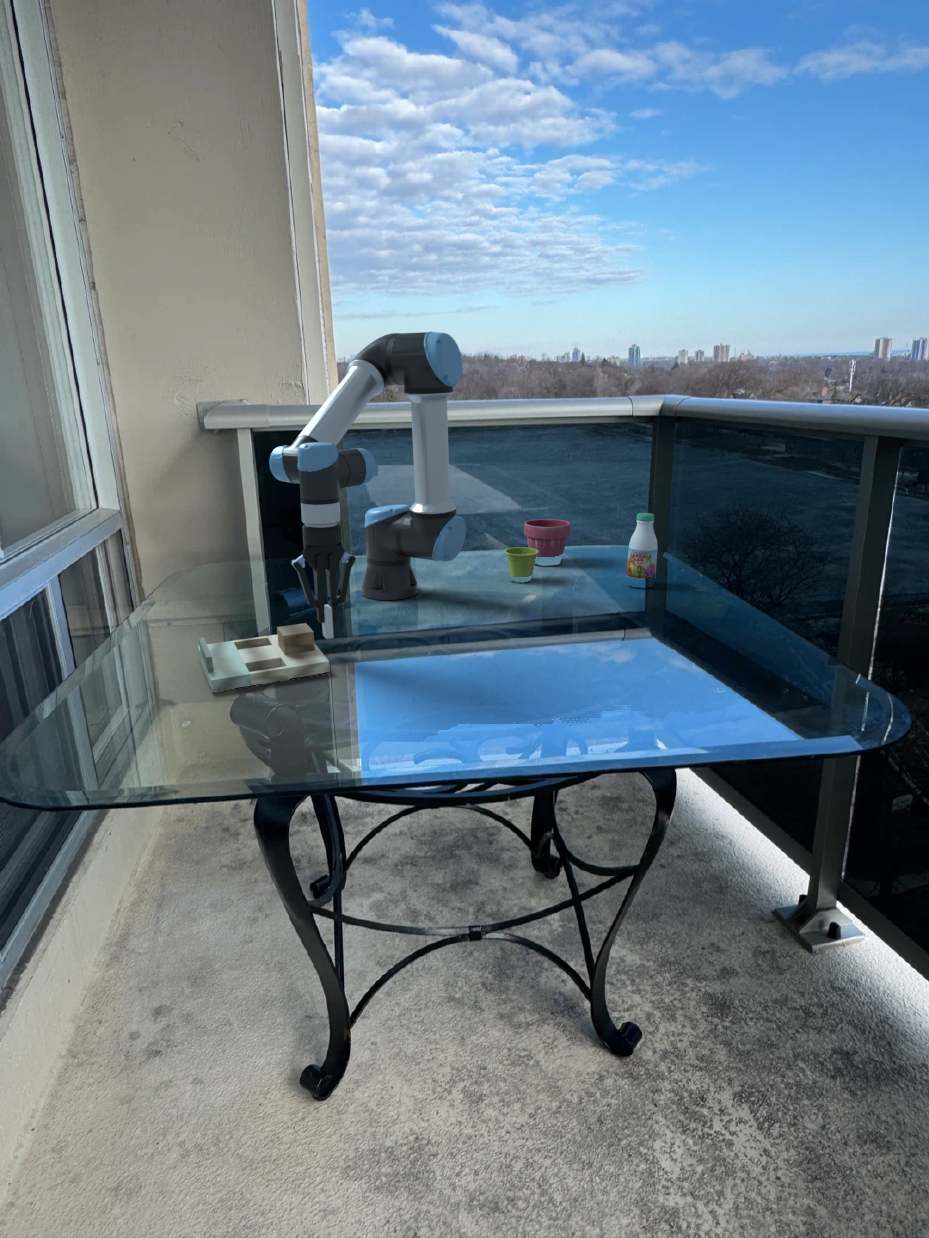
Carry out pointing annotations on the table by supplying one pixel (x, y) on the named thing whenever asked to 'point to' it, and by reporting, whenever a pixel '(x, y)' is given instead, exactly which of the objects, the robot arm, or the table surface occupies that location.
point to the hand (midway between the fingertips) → (328, 636)
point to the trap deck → (255, 662)
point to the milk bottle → (642, 548)
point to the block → (295, 638)
